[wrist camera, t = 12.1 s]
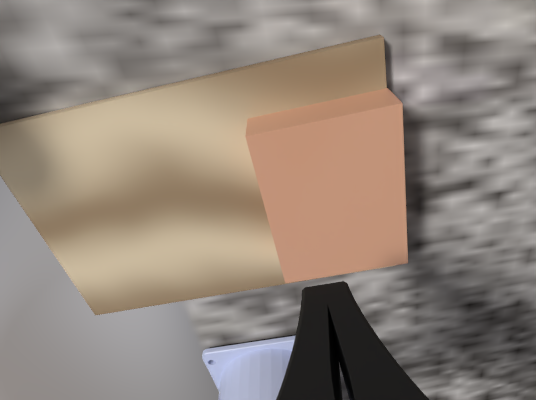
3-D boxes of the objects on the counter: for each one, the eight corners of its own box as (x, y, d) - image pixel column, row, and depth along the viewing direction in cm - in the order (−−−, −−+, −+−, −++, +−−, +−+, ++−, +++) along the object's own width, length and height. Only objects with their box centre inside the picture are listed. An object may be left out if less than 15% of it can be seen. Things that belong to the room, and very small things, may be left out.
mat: (393, 258, 21) (396, 265, 21) (99, 307, 23) (95, 315, 23) (379, 34, 15) (383, 37, 15) (-20, 128, 17) (-29, 133, 17)
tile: (283, 256, 20) (395, 237, 20) (285, 283, 19) (408, 263, 18) (247, 118, 16) (387, 88, 16) (245, 136, 15) (402, 103, 14)
